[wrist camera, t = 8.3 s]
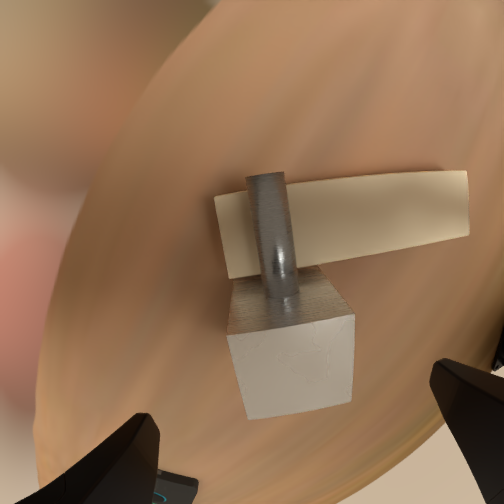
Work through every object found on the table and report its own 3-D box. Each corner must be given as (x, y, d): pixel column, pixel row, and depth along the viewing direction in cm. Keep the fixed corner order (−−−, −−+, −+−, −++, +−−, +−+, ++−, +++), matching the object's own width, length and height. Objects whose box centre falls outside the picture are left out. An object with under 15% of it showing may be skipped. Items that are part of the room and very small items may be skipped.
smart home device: (200, 489, 18) (179, 531, 22) (202, 476, 19) (180, 522, 24) (113, 464, 17) (124, 515, 22) (118, 451, 19) (126, 507, 23)
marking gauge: (318, 328, 15) (351, 401, 9) (247, 340, 15) (248, 419, 9) (301, 171, 13) (343, 163, 7) (218, 183, 13) (195, 183, 7)
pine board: (448, 228, 14) (469, 235, 12) (231, 265, 14) (228, 278, 12) (445, 170, 13) (466, 170, 11) (218, 194, 13) (213, 196, 11)
